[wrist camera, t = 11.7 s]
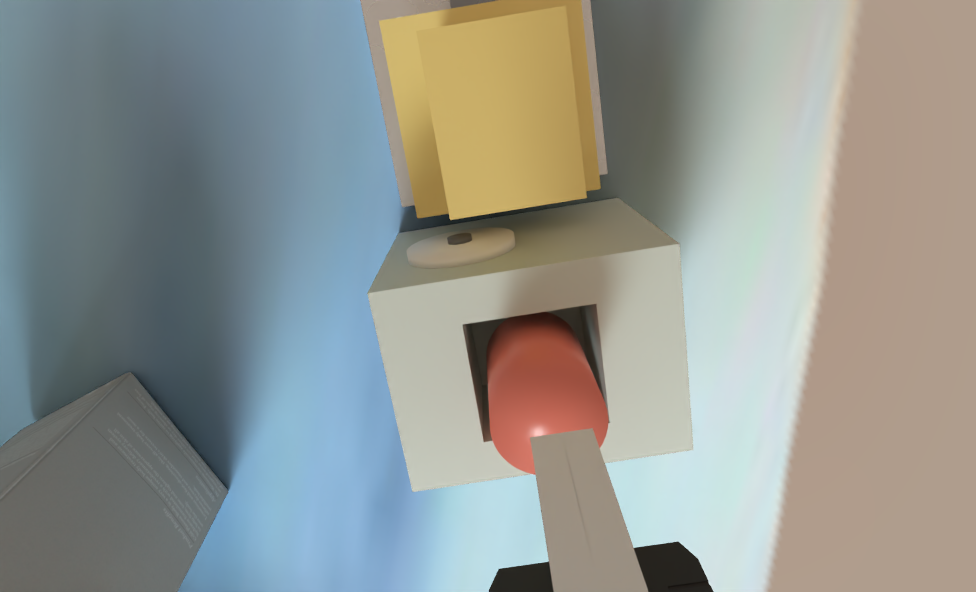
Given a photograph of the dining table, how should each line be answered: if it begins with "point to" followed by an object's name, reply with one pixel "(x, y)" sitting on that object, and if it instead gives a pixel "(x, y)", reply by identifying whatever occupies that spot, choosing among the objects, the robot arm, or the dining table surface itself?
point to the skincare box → (103, 497)
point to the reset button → (539, 386)
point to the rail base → (381, 5)
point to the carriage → (493, 106)
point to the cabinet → (520, 291)
